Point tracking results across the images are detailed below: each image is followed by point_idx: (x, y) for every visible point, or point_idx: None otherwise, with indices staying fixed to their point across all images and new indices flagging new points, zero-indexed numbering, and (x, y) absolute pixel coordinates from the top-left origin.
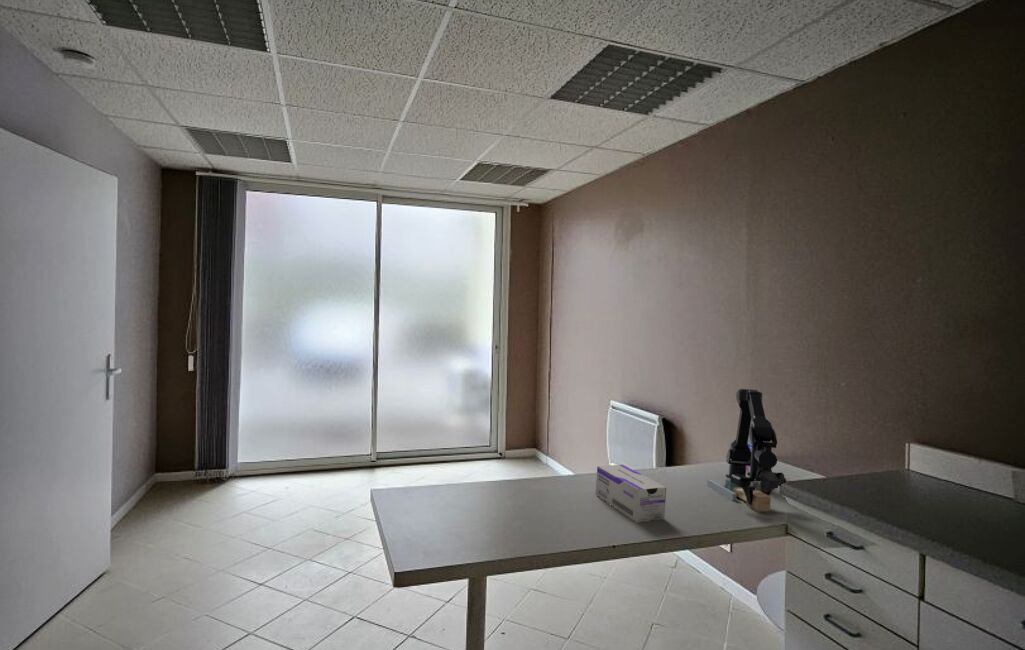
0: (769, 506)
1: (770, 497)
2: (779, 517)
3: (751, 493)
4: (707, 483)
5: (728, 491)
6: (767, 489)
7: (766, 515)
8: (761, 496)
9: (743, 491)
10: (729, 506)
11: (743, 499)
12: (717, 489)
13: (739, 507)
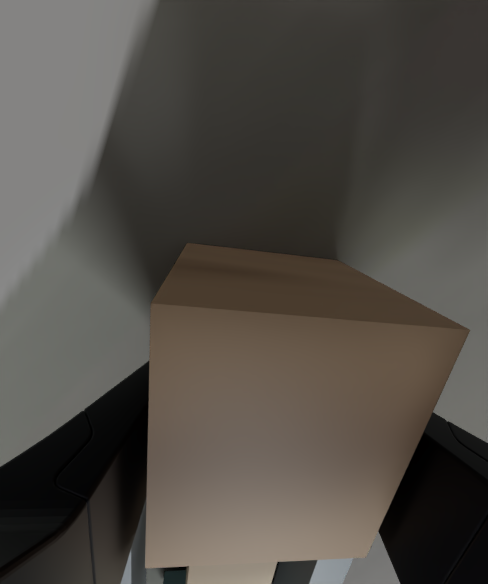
0: (191, 253)
1: (165, 294)
2: (231, 19)
3: (484, 459)
4: None
5: (344, 578)
6: (59, 575)
7: (342, 134)
8: (372, 345)
9: (241, 574)
10: (464, 391)
11: None
12: None
13: None
